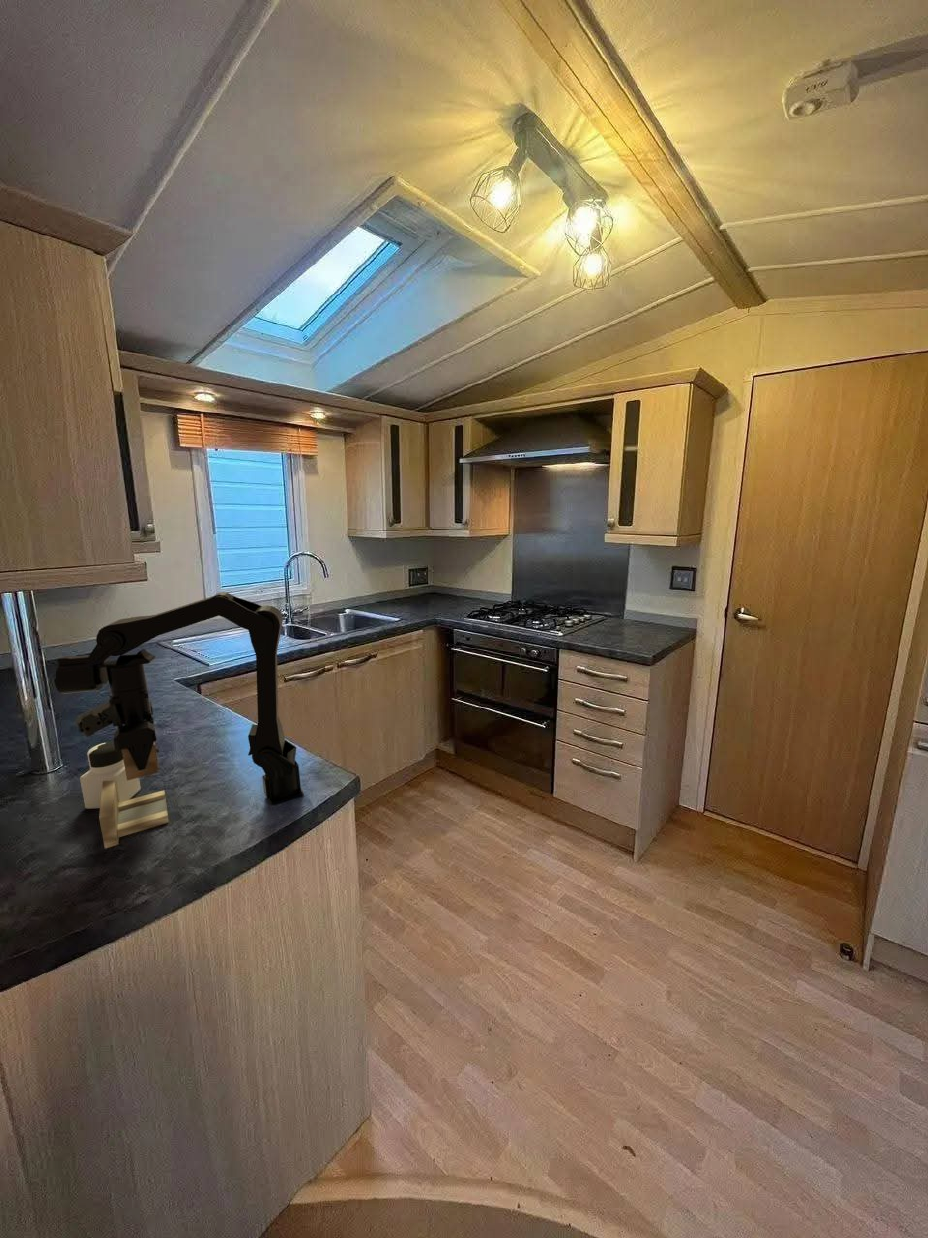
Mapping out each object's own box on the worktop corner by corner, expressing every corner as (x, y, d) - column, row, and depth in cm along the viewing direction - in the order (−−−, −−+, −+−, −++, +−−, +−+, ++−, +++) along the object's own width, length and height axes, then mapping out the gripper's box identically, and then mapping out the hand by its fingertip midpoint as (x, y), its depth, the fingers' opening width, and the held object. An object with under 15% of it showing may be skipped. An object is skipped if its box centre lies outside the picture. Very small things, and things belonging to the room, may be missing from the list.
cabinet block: (160, 761, 101) (156, 733, 100) (162, 771, 97) (157, 742, 96) (127, 769, 98) (122, 741, 97) (127, 780, 94) (121, 750, 93)
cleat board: (164, 791, 108) (160, 765, 107) (169, 828, 95) (165, 800, 93) (107, 806, 102) (103, 780, 101) (104, 848, 89) (99, 818, 88)
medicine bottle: (141, 789, 109) (133, 737, 107) (120, 808, 102) (111, 753, 100) (108, 790, 109) (98, 739, 106) (84, 809, 102) (74, 754, 99)
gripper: (79, 682, 98) (93, 757, 101) (70, 712, 82) (87, 799, 85) (146, 672, 104) (157, 742, 107) (149, 697, 88) (162, 779, 91)
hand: (141, 764), depth 97 cm, fingers closed on cabinet block, 5 cm apart
